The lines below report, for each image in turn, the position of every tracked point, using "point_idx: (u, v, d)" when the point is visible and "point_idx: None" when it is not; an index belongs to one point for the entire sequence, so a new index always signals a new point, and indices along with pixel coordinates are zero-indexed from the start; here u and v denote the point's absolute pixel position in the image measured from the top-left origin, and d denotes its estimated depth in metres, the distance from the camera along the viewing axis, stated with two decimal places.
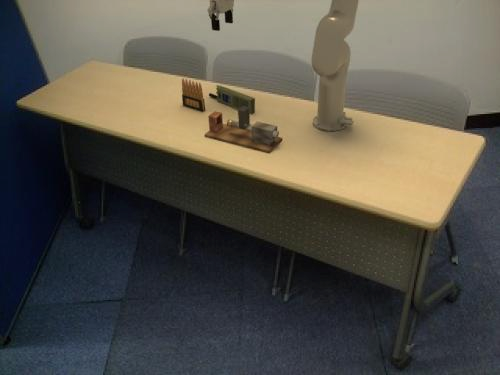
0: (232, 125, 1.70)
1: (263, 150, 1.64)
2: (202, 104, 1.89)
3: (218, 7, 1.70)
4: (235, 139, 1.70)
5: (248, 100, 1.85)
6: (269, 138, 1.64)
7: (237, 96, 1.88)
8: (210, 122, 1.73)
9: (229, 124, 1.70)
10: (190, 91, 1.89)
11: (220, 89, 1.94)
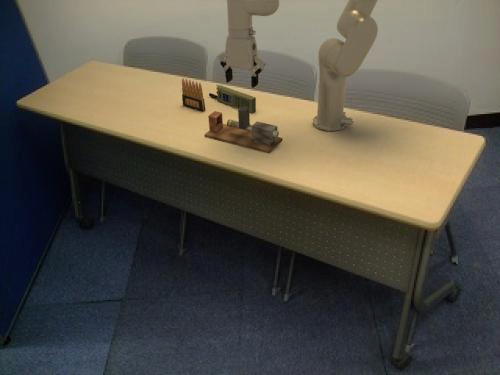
0: (232, 125, 1.70)
1: (263, 150, 1.64)
2: (202, 104, 1.89)
3: None
4: (235, 139, 1.70)
5: (249, 99, 1.85)
6: (269, 138, 1.64)
7: (238, 96, 1.89)
8: (210, 122, 1.73)
9: (229, 124, 1.70)
10: (190, 91, 1.89)
11: (220, 89, 1.94)
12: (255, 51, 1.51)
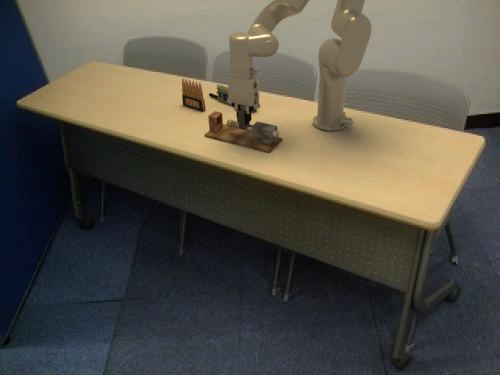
0: (232, 125, 1.70)
1: (263, 150, 1.64)
2: (202, 104, 1.89)
3: (258, 96, 1.61)
4: (235, 139, 1.70)
5: None
6: (269, 138, 1.64)
7: None
8: (210, 122, 1.73)
9: (229, 124, 1.70)
10: (190, 91, 1.89)
11: (221, 89, 1.94)
12: (256, 89, 1.59)
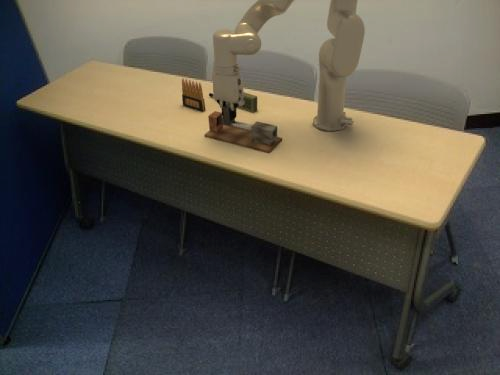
0: (218, 122, 1.72)
1: (263, 150, 1.64)
2: (202, 104, 1.89)
3: (243, 93, 1.64)
4: (235, 139, 1.70)
5: (251, 98, 1.86)
6: (269, 138, 1.64)
7: None
8: (210, 122, 1.73)
9: None
10: (190, 91, 1.89)
11: None
12: (240, 86, 1.61)
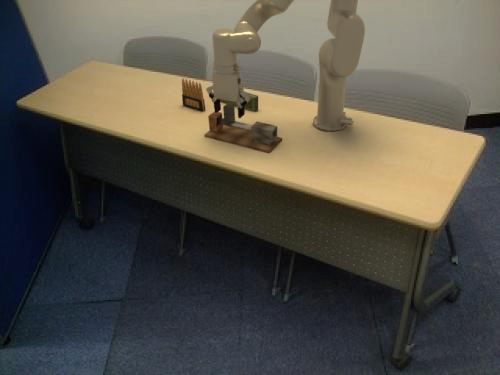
0: (218, 122, 1.72)
1: (263, 150, 1.64)
2: (202, 104, 1.89)
3: None
4: (235, 139, 1.70)
5: (252, 98, 1.87)
6: (269, 138, 1.64)
7: None
8: (210, 122, 1.73)
9: None
10: (190, 91, 1.89)
11: None
12: (240, 85, 1.61)
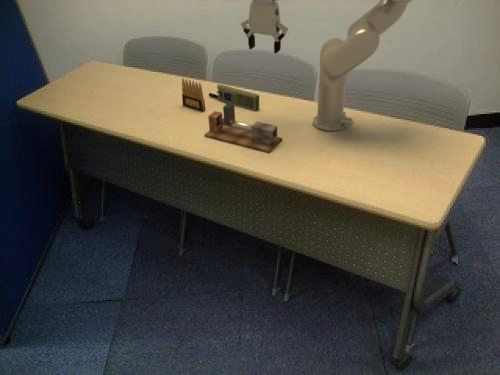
0: (218, 122, 1.72)
1: (263, 150, 1.64)
2: (202, 104, 1.89)
3: None
4: (235, 139, 1.70)
5: (253, 97, 1.87)
6: (269, 138, 1.64)
7: (241, 94, 1.90)
8: (210, 122, 1.73)
9: None
10: (190, 91, 1.89)
11: (222, 88, 1.94)
12: (278, 17, 1.57)
